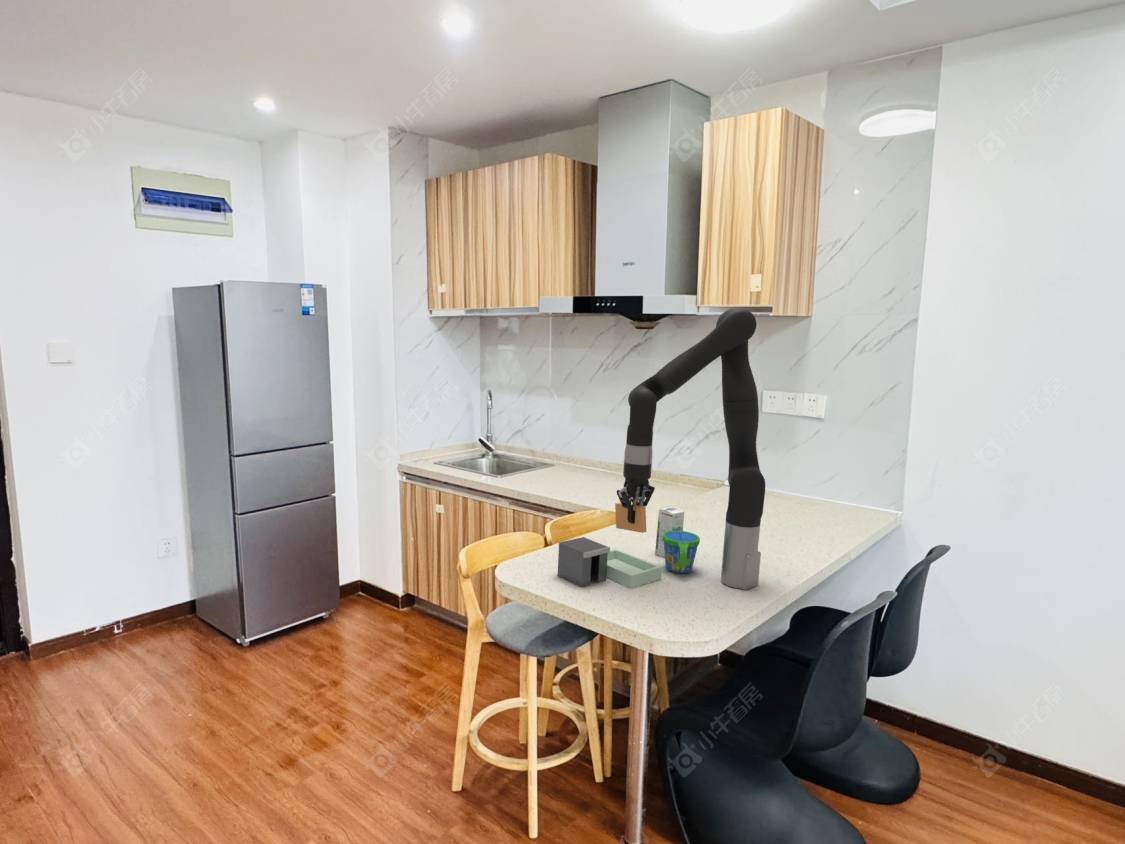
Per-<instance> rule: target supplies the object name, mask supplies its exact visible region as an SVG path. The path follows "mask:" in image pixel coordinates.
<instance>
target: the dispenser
mask: <svg viewBox="0 0 1125 844" xmlns="http://www.w3.org/2000/svg"><path fill="white" fill-rule="evenodd" d="M610 550H611V547H610V546H607V545H605V544H602V543H599V542H597V541H594V540H592V539H590V538H587V537H585V536H582V537H578V538H577V537H576V538H574V539H569V540H564V541H560V542H558V558H557V559H558V560H557V576H558V577H559V578H561V579H563V580H566V581H568V582H570V583H572V584H574V585H576V586H578V587H580V588H584V587H588V586H591V580H592V581H594V582H597V583H601V582H604V581H607V577H606V574H607V557H608V552H610Z"/></svg>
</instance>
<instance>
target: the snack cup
mask: <svg viewBox="0 0 1125 844" xmlns="http://www.w3.org/2000/svg"><path fill="white" fill-rule="evenodd" d="M700 540H701V538H700V536H699V535H697V534H695V533H693V532H690V531H685V530H683V531H667V532H665V533H664V534H663V541H664V551H665V557H664V561H665V563H664V564H665V568H666V569H667V570H668V571H669V572H672V573H675V574H688V573H691V572H692V570H693V567H694V563H695V559H696V555H697V551H698V546H699V545H700V542H701V541H700Z"/></svg>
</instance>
